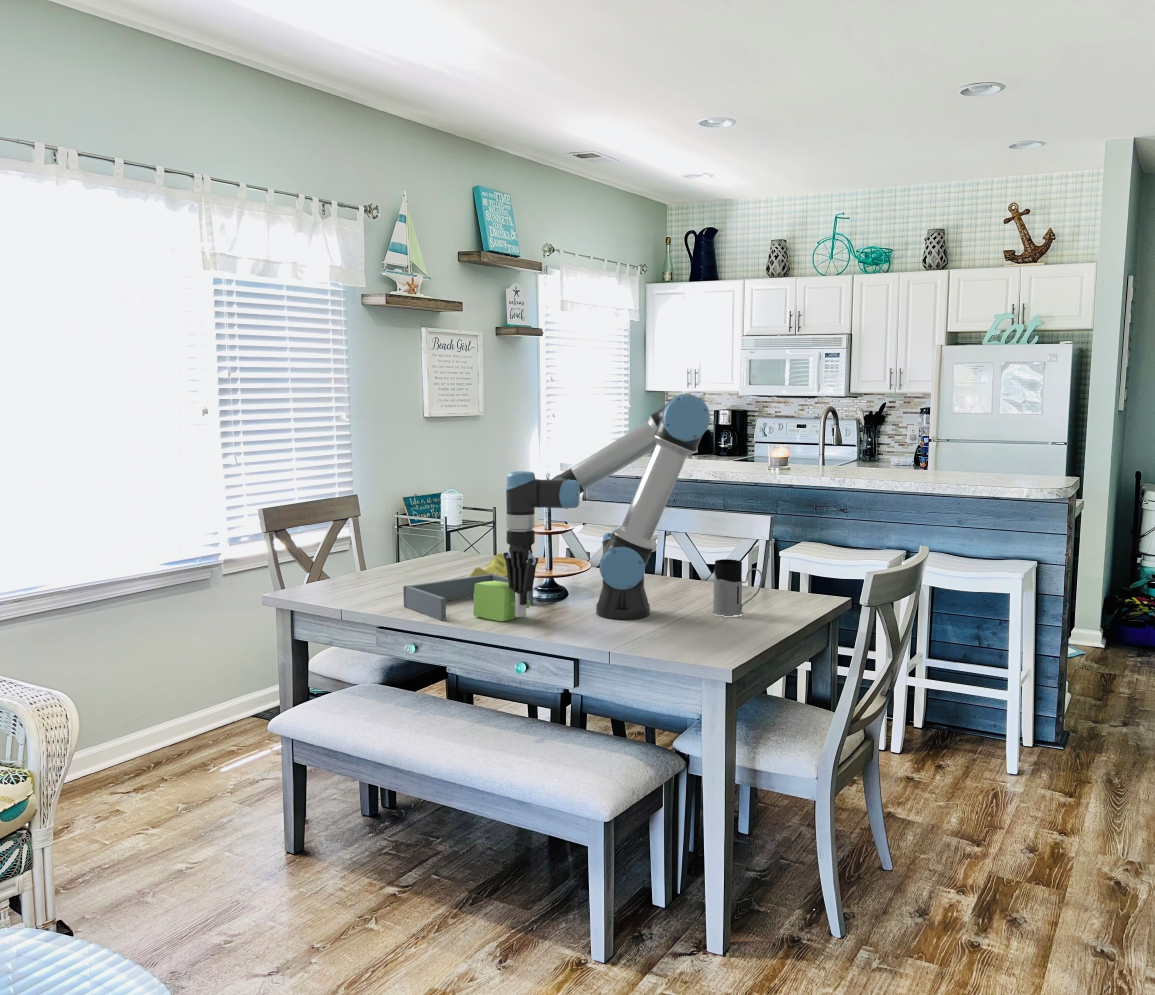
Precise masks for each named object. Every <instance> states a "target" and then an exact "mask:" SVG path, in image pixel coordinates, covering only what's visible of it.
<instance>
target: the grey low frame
mask: <svg viewBox="0 0 1155 995" xmlns="http://www.w3.org/2000/svg"><path fill="white" fill-rule="evenodd" d="M487 581H501V582H507V583H509V582H508V578H507V577H503V576H500V575H496V574H487V575H480V576H473V577H470V576H468V577H460V578H452V579H445V580H444V579H443V580H438V581H431V582H424V583H417V584H410V585H403V589H402V590H403V607H404V608H406V607H407V608H406V609H409V610H411V611H415V612H418V613H420V614H422V615H425V616H428V617H431V618H433V619H436V618H437V620H439V621H445V620H444V619H446V620H447V606H446V605H447V603H446V602H449V601H448V600H451V601H456V600H455V599H457V600H462V599H461V598H464V599H468V598H467V597H470V598H474V587H475V584H476V583H480V582H487ZM527 600H529V601H530V604H533V605H534V588H533V589H532V591H529V592H527Z"/></svg>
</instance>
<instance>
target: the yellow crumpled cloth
mask: <svg viewBox="0 0 1155 995" xmlns="http://www.w3.org/2000/svg"><path fill="white" fill-rule="evenodd" d="M503 554H504V553H502V552H499V553H497V554H495V556H494V557H493V559H492V560H491V561H490V562H489V563H488V564H487V566H485V567H484V568H481V567H480V566H478V567H476V568H474V570H473V571H472V573H471V575H470V576H469V577H473V576H480V575H487V574H496V575H500V576H503V577H507V578H508V575H507V568H506V561H505V558H504V556H503Z"/></svg>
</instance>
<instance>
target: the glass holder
mask: <svg viewBox="0 0 1155 995" xmlns="http://www.w3.org/2000/svg"><path fill="white" fill-rule="evenodd" d="M742 566H743V561H741V560H737V559H728V558H725V559H724V558H723V559H715V560H714V569H713V602H712V603H713V605H712V607H713V608H712V609H713V610H712V611H711V614H712V613H713V614H717V615H724V616H733V615H740V614H742V613H743V606H744V605H746V604H747V603H748V602H750V601H751V600H752V599H753V598H755V597H756V596H757V595H758V594H759V592H760V590H761V588H762V584H763V573H762V571H761V570H760V569H758V568H750V569H748V571H747V573H746V576H745V578H746V579H745V580H744V581H743V579H742V573H743V567H742ZM753 570H754V571H757V572H758V573H759V574H760V583H759V587H758V588H757V590H756V592H755V594H753V596H751V597H750V598H749V599H747V600H746V601H744V602H742V601H743V600H742V599H743V598H742V597H743V584H745V583H747V582H748V580H749V574H750V572H751V571H753Z"/></svg>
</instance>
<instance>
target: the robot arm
mask: <svg viewBox="0 0 1155 995" xmlns="http://www.w3.org/2000/svg"><path fill="white" fill-rule="evenodd" d="M710 419H711V416H710V411H709V407H708V405H707V404H706V402H705V401H704V400H703V399H702V398H700V397H698V396H696V395H695V394H691V393H681V394H678V395H676V396H674V397H672V398H670V399H669V401H667V403H665V404H664V405H663V406H662V407H661V408H660V409H657V411H655V412H654V413H652V414H650V415H649V417H648V420H647V421H646V422H644V423H642V424H641V425H640V426H638V427H636V428H635V429H633V430H631V431H630V432H628V433H626V434H625V435H623V436H621V437H620V438H618V439H616V440H615V441H613V442H612V443H610V444H608V445H606V446H604V447H603V448H602V449H600V450H598V451H597V452H594V453H593V454H591V455H590V456H588V457H586V458H584V459H583V460H581V461H580V462H577V463H576V464H575V465H573V466H572V467H570V468H569V469H566V470H565V471H563V472H562V473H560V474H557V475H556V476H554V477H553V478H552V479H539V478H536V475H535V473H534V472H533V471H525V470H524V471H517V470H516V471H511V472H509V473H508V474H507V476H506V488H505V490H506V492H505V496H506V499H505V500H506V502H505V503H506V514H505V516H506V520H505V521H506V524H505V526H506V529H507V531H506V544H507V545H509V548H508V551H507V552H506V551H505V552H503V553H502V554H503V556H504V558H505V561H506V568H507V575H508V582H509V588H512V589H513V591H514V597H515V598H514V601H515V616H516V617H518V618H522V617H527V608H526V604H527V592H529V591H532V589H533V590H534V581H535V576H536V569H537V565H538V562H539V558H538V557H534V555H533V549H532V546H533V545H534V544H535V543H536V542H535V541H536V539H535V538H536V536H535V530H534V528H535V512H536V511H535V508H538V509H540V508H545V509H546V508H547V509H565V510H566V509H577V508H578V507H579V505H580V502H581V500H580V499H581V497H580V496H581V494H583V493H584V492H585V491H587V490H589V489H591V488H592V487H593V486H595V485H597V484H598V483H601V482H602V481H604V480H606V479H607V478H608V477H609V478H610V477H611V476H612V475H614V474H615V473H617V472H619V471H621V470H622V469H624V468H625V467H628V466H629V465H631V464H632V463H634V462H635V461H638V460H639V459H641V458H642V457H645V456H646V455H647V454H649V453H650V452H652V453H651V456H650V458H649V461H648V463H647V465H646V468H645V469H644V472H643V475H642V477H641V480H640V482H639V485H638V486H637V489H636V491H635V494H634V495H633V498H632V501H631V503H630V506H629V507H628V509H627V512H626V514H625V517H624V519H623V522H622V523H621V525H620V527H618V528H615V529H613V530H612V532H606V533H604V534H603V538H602V541H601V544H602V556H601V558H600V560H599V567H598V568H599V573H600V576H601V578H602V585H601V586H602V587H601V590H600V594H599V597H598V601H597V603H596V606H595V613H596V615H598V616H599V617H603V618H606V619H612V618H616V619H615V620H633V619H632V618H637V619H642V617H643V618H646V617H648V616H649V615H651V614H650V613H651V610H650V609H651V607H650V603H649V601H648V600H649V599H648V596H647V592H646V589H645V571H646V566H647V564H648V562H649V559H650V557H651V555H652V554H653V553H652V552H653V550H654V544H653V543H652V538H653V536H654V533H655V531H656V529H657V527H658V524H659V522H660V520H661V518H662V515H663V513H664V510H665V508H666V505H667V503H668V501H669V498H670V496H671V494H672V492H673V489H674V487H675V485H676V482H677V480H678V478H679V475H680V473H681V471H682V468H683V467H684V463H685V462H686V459H687V457H688V456H690V455H693V454H695V453H696V451H697V449H698V446H699V444H700V442H701V440H702V437H703V435H704V434H705V432H707V430H708V428H709V425H710V422H711V421H710ZM645 616H646V617H645Z"/></svg>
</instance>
